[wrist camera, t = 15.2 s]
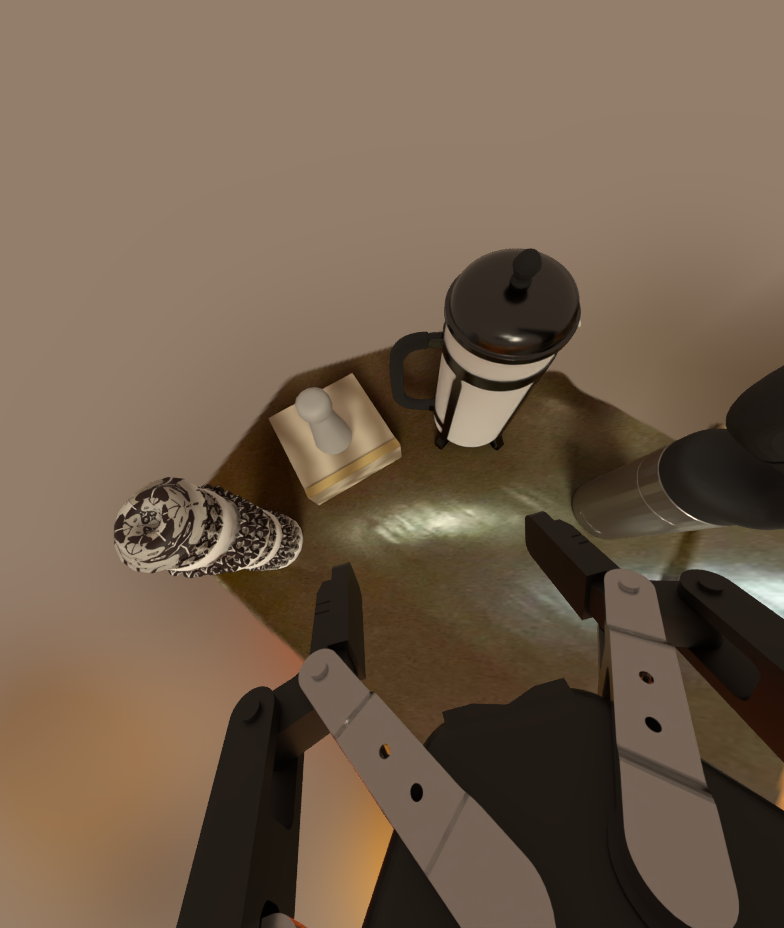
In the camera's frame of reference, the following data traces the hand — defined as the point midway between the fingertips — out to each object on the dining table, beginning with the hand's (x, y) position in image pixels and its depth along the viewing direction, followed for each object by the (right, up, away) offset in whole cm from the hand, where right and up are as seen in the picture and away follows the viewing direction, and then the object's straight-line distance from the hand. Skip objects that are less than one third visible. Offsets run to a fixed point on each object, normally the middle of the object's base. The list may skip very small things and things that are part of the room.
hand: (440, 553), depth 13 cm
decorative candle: (-21, -9, +35) cm, 41 cm away
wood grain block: (-11, +8, +39) cm, 42 cm away
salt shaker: (-11, +7, +34) cm, 36 cm away
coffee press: (+10, +11, +39) cm, 42 cm away
